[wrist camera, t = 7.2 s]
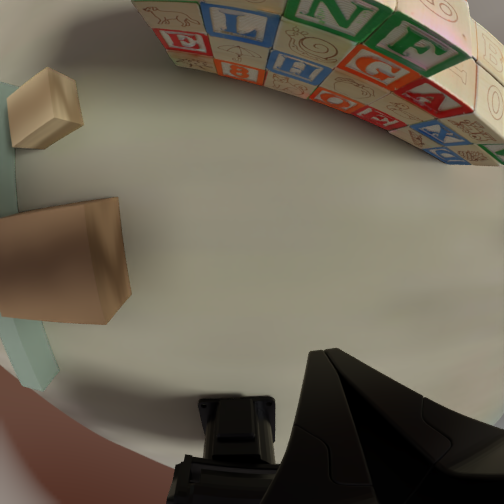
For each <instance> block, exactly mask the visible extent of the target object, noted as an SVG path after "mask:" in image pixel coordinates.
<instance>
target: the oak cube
mask: <svg viewBox="0 0 504 504" xmlns="http://www.w3.org/2000/svg"><path fill="white" fill-rule="evenodd" d="M7 108H8V118H9V127H10V134H11V141H12V147H14V148H34V149H46V148H47V147H49V146H50V145H52V144H53V143H55V142H56V141H58V140H60V139H61V138H63V137H65V136H66V135H68V134H70V133H71V132H73V131H75V130H76V129H78V128H80V127H82V126H83V125H84V123H83V118H82V113H81V109H80V104H79V99H78V93H77V88H76V82H75V80H73V79H71V78H69V77H67V76H65V75H63V74H61V73H59V72H57V71H55V70H53V69H51V68H49V67H46V68H45V69H43V70H42V71H40V72H39V73H38V74H36V75H35V76H34V77H32V78H31V79H30V80H28V81H27V82H26V83H25V84H23V85H22V86H21V87H20V88H18V89H17V90H16V91H15V92H14V93H12V94H11V95H10V96H9V97H8V98H7Z"/></svg>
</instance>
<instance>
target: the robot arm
mask: <svg viewBox="0 0 504 504" xmlns="http://www.w3.org/2000/svg"><path fill="white" fill-rule="evenodd" d="M268 402H271V403H268ZM203 404H205V405H203ZM198 408H199V412H200V417H201V421H202V425H203V429H204V433H205V444H204V453H203V458H198V457H192V455H186V454H185V458H184V462H181V463H180V464H177V465H176V466H175V472H174V477H173V481H172V485H171V488H170V491H169V494H168V497H167V502H166V504H504V429H500V428H497V427H494V426H492V425H489V424H486V423H483V422H481V421H478V420H475V419H472V418H470V417H467V416H465V415H462V414H460V413H457V412H455V411H452V410H450V409H448V408H446V407H444V406H442V405H440V404H438V403H436V402H434V401H432V400H430V399H428V398H426V397H424V398H423V396H422V395H420V394H419V393H417V392H415V391H413V390H411V389H409V388H408V387H406V386H404V385H402V384H400V383H398V382H397V381H395V380H393V379H391V378H389V377H388V376H386V375H384V374H382V373H380V372H379V371H377V370H375V369H373V368H372V367H370V366H368V365H366V364H365V363H363V362H361V361H359V360H358V359H356V358H354V357H352V356H351V355H349V354H347V353H345V352H344V351H342V350H340V349H338V348H332V349H325V350H324V351H323V350H316V351H310V352H309V354H308V360H307V365H306V370H305V375H304V380H303V384H302V389H301V394H300V398H299V403H298V407H297V412H296V416H295V420H294V424H293V428H292V432H291V436H290V439H289V443H288V446H287V449H286V452H285V454H284V457H283V459H282V461H281V464H275V456H274V447H273V443H274V442H275V399H274V398H272V397H260V398H240V399H201V400H199V403H198Z"/></svg>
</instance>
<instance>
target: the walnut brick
mask: <svg viewBox="0 0 504 504" xmlns="http://www.w3.org/2000/svg"><path fill="white" fill-rule="evenodd" d="M131 294H132V292H131V287H130V282H129V276H128V270H127V264H126V258H125V251H124V244H123V237H122V229H121V220H120V211H119V200H118V197H113V198H105V199H98V200H91V201H84V202H78V203H71V204H65V205H59V206H53V207H48V208H42V209H37V210H31V211H26V212H21V213H17V214H13V215H9V216H5V217H1V218H0V312H1V316H2V317H9V318H18V319H27V320H38V321H50V322H63V323H78V324H98V325H106V324H107V323H108V322H109V321H110V319H111V318H112V317H113V316H114V314H115V313H116V312H117V311H118V310H119V309H120V307H121V306H122V305H123V304H124V303H125V301H126V300H127V299H128V298H129V297H130V296H131Z"/></svg>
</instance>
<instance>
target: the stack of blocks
mask: <svg viewBox="0 0 504 504" xmlns="http://www.w3.org/2000/svg"><path fill="white" fill-rule="evenodd" d="M131 2H132V3H133V5H134V6H135V7H136V8H137V9H138V12H139V13H140V14H141V16H142V17H143V19H144V20H145V21H146V23H147V24H148V26H149V27H151V28H152V29H153V31H154V33H155V34H156V36H157V37H158V39H159V40H160V41H161V43H162V44H163V46H164V47H165V48H166V52H167V53H168V55H169V57H170V58H171V59H172V61H173V62H174V63H175V65H176V66H179V67H185V68H191V69H197V70H202V71H207V72H212V73H216V74H218V75H221V76H225V77H230V78H234V79H238V80H242V81H246V82H250V83H254V84H257V85H261V86H265V87H268V88H271V89H274V90H277V91H281V92H284V93H287V94H290V95H293V96H297V97H300V98H303V99H311V100H313V101H315V102H319V103H321V104H325V105H327V106H329V107H332V108H335V109H337V110H340V111H342V112H345V113H347V114H352V115H354V116H356V117H359V118H361V119H363V120H365V121H368V122H370V123H372V124H375V125H376V126H379V127H381V128H383V129H385V130H388V132H389V133H390V134H392V135H394V136H396V137H398V138H400V139H402V140H404V141H406V142H408V143H410V144H412V145H414V146H415V147H417V148H420V149H422V150H424V151H425V152H427V153H429V154H430V155H432V156H434V157H436V158H438V159H439V160H441V161H443V162H444V163H446V164H450V165H455V164H458V165H477V166H501V165H502V164H503V165H504V46H503V45H502V44H501V43H500V42H499V41H498V40H497V39H496V38H495V37H494V36H493V35H491V34H490V33H489V32H488V31H487V30H486V29H485V28H483V27H482V26H481V25H480V24H479V23H477V22H475V21H474V20H473V19H472V18H471V17H470V13H469V5H468V3H467V0H131Z"/></svg>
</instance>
